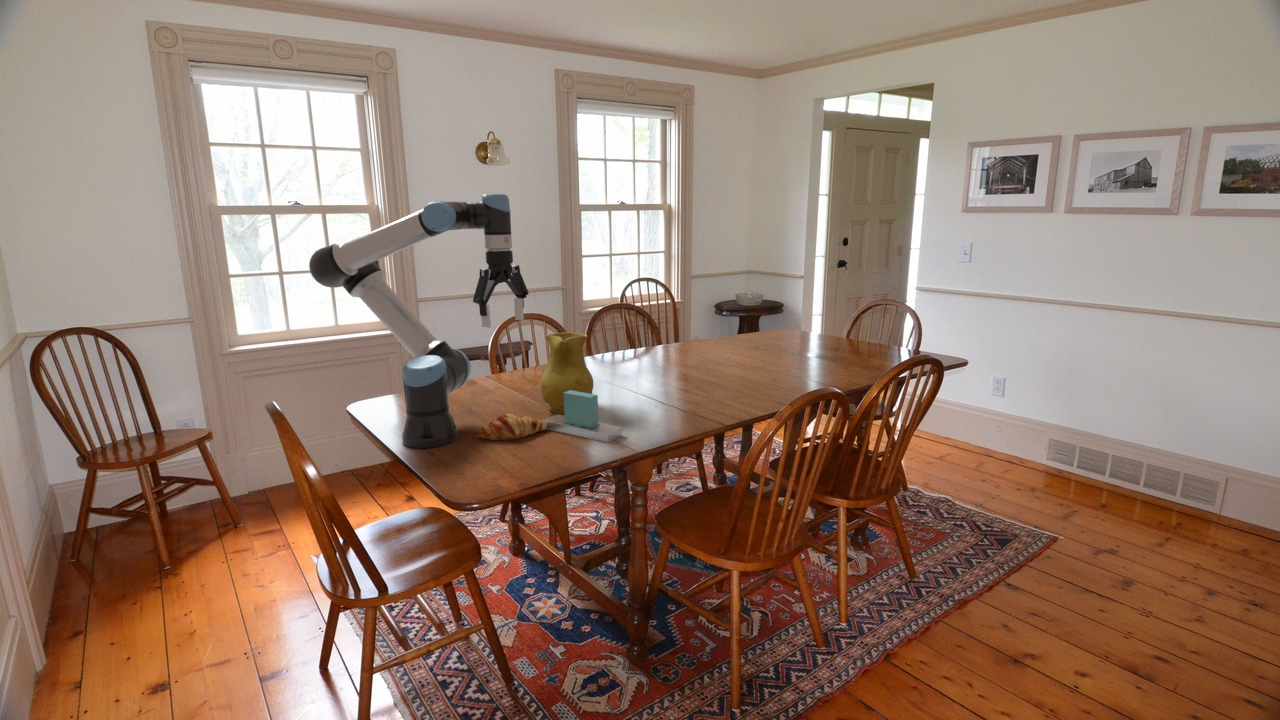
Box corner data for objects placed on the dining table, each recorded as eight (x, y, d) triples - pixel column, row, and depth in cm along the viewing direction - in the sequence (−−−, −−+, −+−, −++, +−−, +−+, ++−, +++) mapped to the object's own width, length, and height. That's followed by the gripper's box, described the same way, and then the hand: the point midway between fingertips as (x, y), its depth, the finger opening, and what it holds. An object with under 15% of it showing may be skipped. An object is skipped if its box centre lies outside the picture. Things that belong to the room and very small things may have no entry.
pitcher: (529, 411, 210) (529, 335, 205) (562, 399, 226) (563, 328, 221) (573, 420, 202) (575, 341, 197) (604, 406, 219) (606, 333, 214)
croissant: (544, 438, 197) (540, 412, 199) (553, 432, 188) (548, 405, 190) (474, 448, 188) (470, 421, 190) (479, 442, 179) (475, 414, 181)
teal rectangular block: (592, 435, 187) (590, 397, 185) (564, 430, 193) (563, 392, 190) (598, 432, 190) (597, 394, 187) (571, 426, 195) (570, 390, 193)
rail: (608, 442, 182) (607, 434, 182) (542, 428, 195) (542, 420, 194) (622, 435, 188) (621, 427, 187) (557, 421, 201) (557, 414, 200)
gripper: (475, 253, 173) (481, 331, 178) (538, 247, 193) (541, 318, 198) (456, 252, 177) (462, 329, 182) (519, 247, 197) (523, 316, 202)
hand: (503, 323), depth 190 cm, fingers open, 13 cm apart
